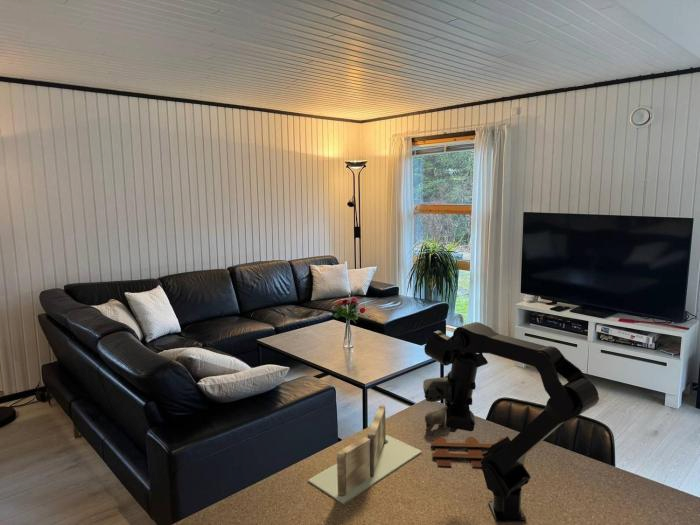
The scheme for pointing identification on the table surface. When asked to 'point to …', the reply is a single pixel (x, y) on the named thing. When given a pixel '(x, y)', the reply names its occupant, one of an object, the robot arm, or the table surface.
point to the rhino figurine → (435, 419)
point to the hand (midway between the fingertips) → (452, 431)
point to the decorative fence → (470, 445)
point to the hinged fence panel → (378, 432)
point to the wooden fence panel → (355, 464)
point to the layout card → (388, 461)
